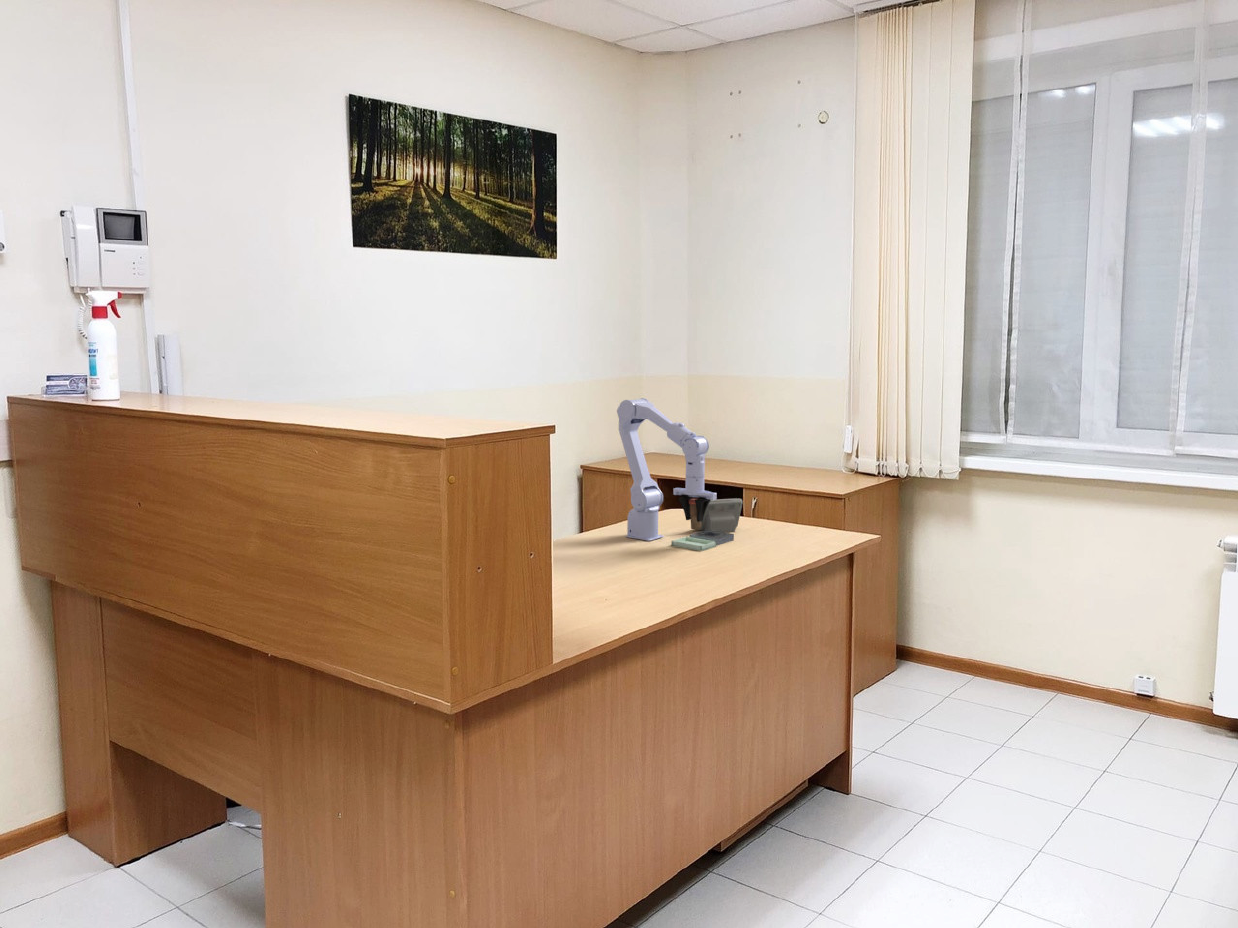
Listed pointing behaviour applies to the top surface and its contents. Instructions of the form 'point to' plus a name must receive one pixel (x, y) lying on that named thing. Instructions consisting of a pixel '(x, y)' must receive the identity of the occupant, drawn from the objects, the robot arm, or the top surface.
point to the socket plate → (714, 536)
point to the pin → (694, 515)
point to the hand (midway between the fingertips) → (694, 520)
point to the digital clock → (722, 515)
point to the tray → (693, 543)
